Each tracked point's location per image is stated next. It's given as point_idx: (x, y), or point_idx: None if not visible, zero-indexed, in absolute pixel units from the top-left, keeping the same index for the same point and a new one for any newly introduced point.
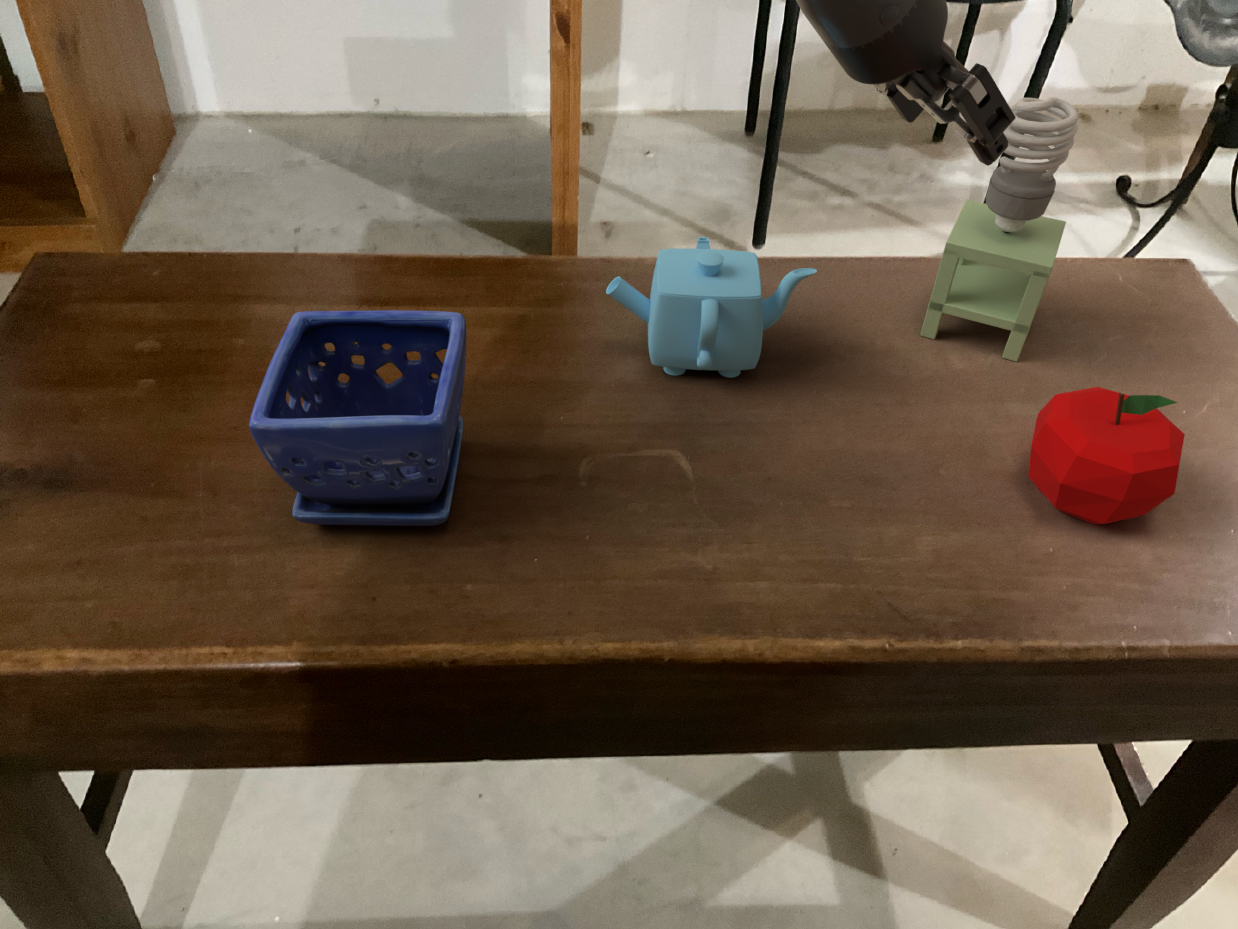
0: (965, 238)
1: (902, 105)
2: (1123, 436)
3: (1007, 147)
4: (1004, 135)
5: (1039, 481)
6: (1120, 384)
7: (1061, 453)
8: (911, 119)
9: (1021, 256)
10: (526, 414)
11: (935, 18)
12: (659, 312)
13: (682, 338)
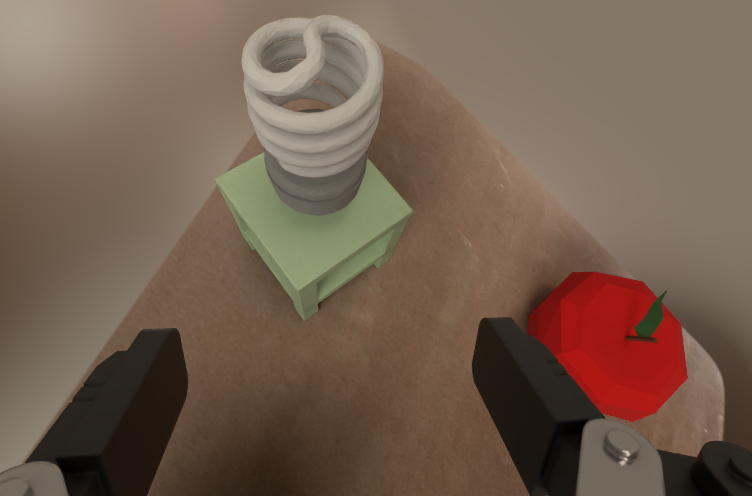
0: (303, 259)
1: (156, 452)
2: (649, 350)
3: (302, 161)
4: (524, 336)
5: None
6: (453, 201)
7: (630, 412)
8: (184, 388)
9: (376, 225)
10: None
11: None
12: None
13: None
